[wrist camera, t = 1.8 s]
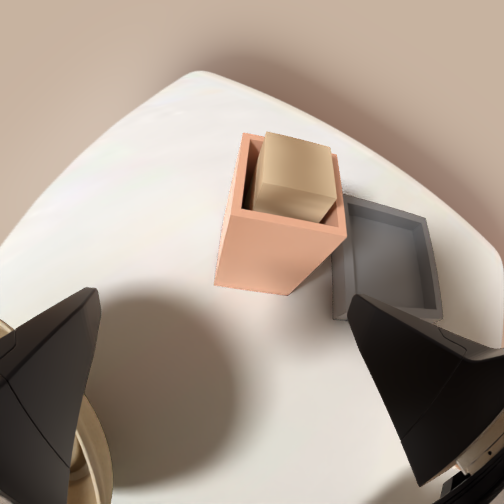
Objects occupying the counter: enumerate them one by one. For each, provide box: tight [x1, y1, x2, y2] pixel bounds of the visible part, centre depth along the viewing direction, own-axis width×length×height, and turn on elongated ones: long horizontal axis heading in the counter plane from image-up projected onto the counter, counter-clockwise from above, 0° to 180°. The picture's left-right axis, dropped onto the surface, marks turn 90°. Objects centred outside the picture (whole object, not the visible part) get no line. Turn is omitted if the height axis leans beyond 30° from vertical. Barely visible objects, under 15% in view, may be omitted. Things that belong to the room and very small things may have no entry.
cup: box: [214, 133, 347, 296], centre depth 21 cm, size 6×6×11 cm
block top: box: [249, 132, 337, 223], centre depth 17 cm, size 4×4×4 cm
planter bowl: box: [0, 319, 113, 504], centre depth 11 cm, size 16×16×11 cm
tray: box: [331, 194, 443, 324], centre depth 27 cm, size 12×12×2 cm
